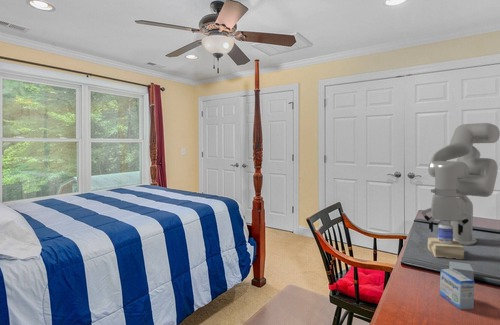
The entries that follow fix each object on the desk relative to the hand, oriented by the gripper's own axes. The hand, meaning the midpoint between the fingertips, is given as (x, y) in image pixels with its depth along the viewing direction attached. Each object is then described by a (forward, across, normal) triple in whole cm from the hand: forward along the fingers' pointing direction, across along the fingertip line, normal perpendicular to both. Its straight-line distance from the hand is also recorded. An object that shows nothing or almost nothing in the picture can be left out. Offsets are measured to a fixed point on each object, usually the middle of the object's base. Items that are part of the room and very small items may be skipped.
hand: (445, 232), depth 119 cm
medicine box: (+9, 0, -41) cm, 42 cm away
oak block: (+9, 0, 0) cm, 9 cm away
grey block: (+9, +3, -21) cm, 23 cm away
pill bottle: (+4, 0, 0) cm, 4 cm away
